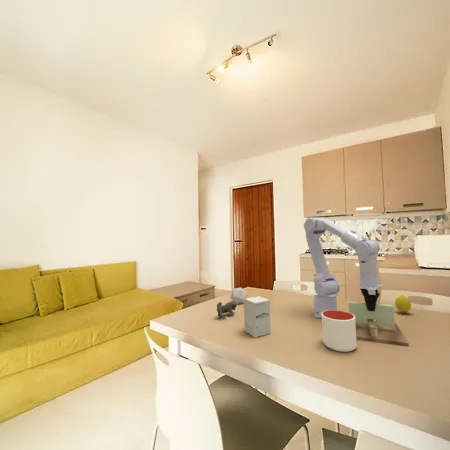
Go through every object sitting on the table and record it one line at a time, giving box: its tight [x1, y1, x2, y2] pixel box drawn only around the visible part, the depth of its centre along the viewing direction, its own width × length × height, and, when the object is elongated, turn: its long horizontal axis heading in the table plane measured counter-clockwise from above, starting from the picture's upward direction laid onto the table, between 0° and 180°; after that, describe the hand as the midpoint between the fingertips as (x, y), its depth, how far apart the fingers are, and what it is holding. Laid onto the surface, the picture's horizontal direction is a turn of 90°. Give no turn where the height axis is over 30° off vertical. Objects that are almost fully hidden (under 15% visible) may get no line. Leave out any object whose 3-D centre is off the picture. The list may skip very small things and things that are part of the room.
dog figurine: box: [216, 301, 238, 320], centre depth 110 cm, size 12×6×8 cm, turn 132°
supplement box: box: [243, 295, 272, 338], centre depth 91 cm, size 7×7×13 cm
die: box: [229, 287, 248, 305], centre depth 130 cm, size 8×9×10 cm
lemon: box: [394, 294, 412, 314], centre depth 105 cm, size 6×6×8 cm
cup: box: [321, 309, 358, 353], centre depth 78 cm, size 10×10×10 cm
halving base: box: [355, 319, 410, 347], centre depth 88 cm, size 18×18×4 cm
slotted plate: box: [348, 301, 395, 327], centre depth 88 cm, size 14×2×7 cm, turn 65°
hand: (370, 309), depth 88 cm, fingers closed on slotted plate, 2 cm apart
